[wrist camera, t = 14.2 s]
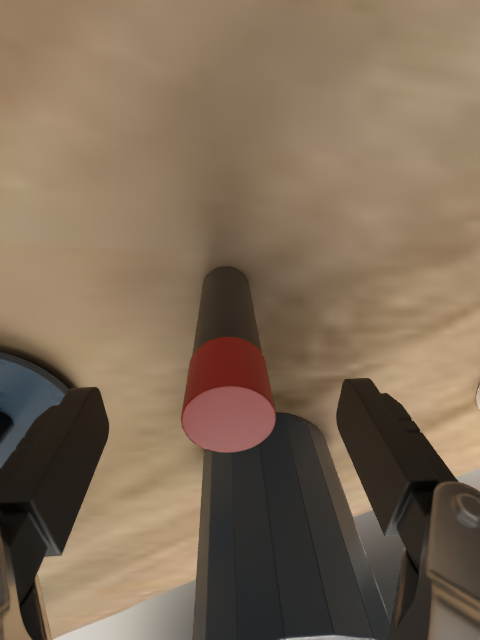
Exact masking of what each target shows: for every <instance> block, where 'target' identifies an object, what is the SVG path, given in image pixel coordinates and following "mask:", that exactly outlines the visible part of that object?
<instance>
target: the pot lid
mask: <svg viewBox="0 0 480 640" xmlns="http://www.w3.org/2000/svg"><path fill="white" fill-rule="evenodd" d="M68 390H69V389H68V388H67V387H66V386H65V385H64V384H63V383H62V382H61V381H60V380H58V379H57V378H56V377H54V376H53V375H52V374H50V373H49V372H47V371H46V370H44V369H42V368H41V367H39V366H37V365H35V364H33V363H31V362H28V361H26V360H24V359H21V358H19V357H16V356H12V355H9V354H6V353H2V352H0V469H1V467H2V466H3V465H4V463H5V462H6V460H7V459H8V457H9V456H10V455H11V453H12V452H13V451H15V450H16V446H17V445H18V443H19V442H20V440H21V439H22V438H23V437H25V433H26V432H27V430H28V429H29V428H30V426H31V425H32V423H33V422H34V420H35V419H36V418H37V417H38V416H40V415H41V414H42V413H43V412H45V411H46V410H47V409H48V408H49V407H51V406H54V405H59V404H60V402H61V401H62V399H63V398H64V396H65V395H66V393H67V392H68Z"/></svg>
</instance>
